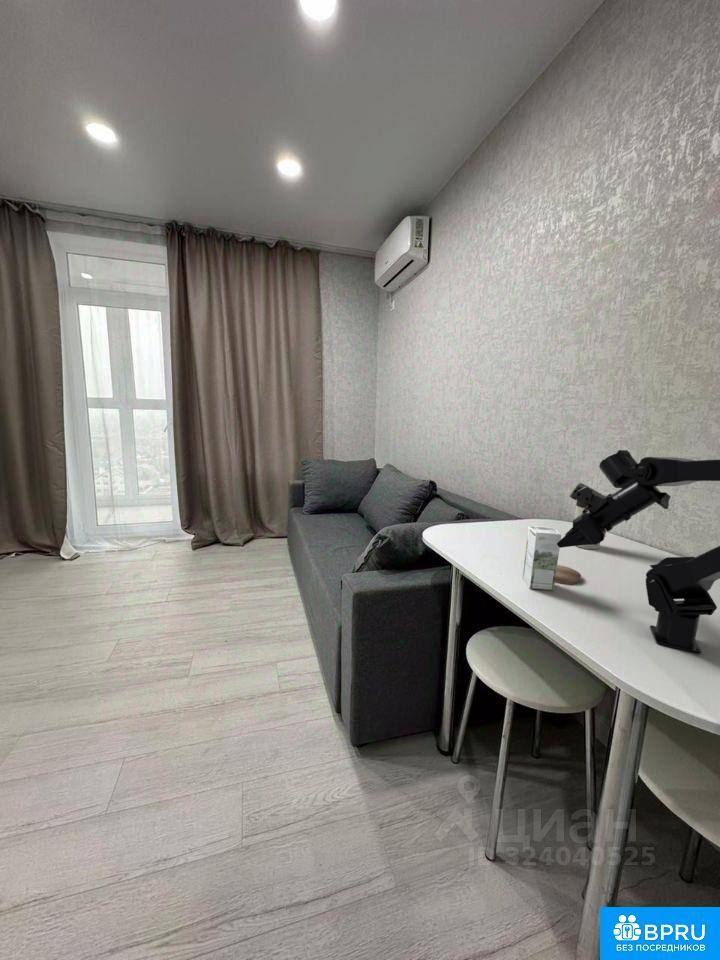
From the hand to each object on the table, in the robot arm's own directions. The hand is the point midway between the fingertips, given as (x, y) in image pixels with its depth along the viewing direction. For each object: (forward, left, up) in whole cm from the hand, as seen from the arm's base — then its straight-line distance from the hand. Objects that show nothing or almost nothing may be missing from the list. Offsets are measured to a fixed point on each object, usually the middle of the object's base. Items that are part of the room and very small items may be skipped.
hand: (562, 540), depth 89 cm
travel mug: (+43, -8, -13) cm, 45 cm away
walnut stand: (+10, 0, -12) cm, 16 cm away
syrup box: (+1, +4, -13) cm, 13 cm away
